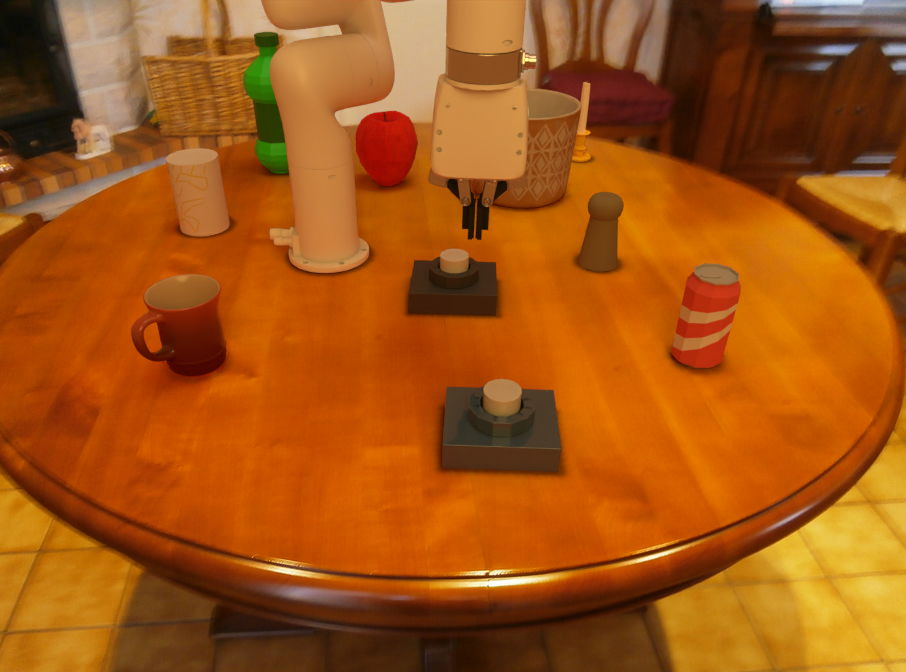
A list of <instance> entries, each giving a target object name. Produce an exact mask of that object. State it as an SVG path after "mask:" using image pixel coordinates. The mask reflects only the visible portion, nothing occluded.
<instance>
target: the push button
mask: <svg viewBox="0 0 906 672" xmlns="http://www.w3.org/2000/svg"><path fill="white" fill-rule="evenodd" d="M439 257H440V270H441V271H444V272H447V273H462V272H466V271H467V270H468V266H469V257H470V255H469V252H468V251H466V250H464V249H461V248H448V249H444V250H442V251H441V252H440V253H439Z"/></svg>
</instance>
